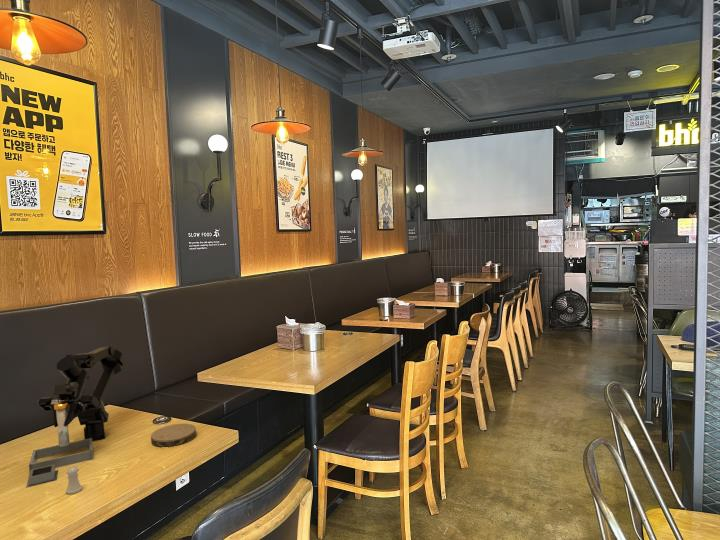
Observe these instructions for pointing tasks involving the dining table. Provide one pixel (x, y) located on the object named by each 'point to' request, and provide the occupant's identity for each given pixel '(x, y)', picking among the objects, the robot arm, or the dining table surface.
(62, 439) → the stop pin
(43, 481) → the bracket
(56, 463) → the pin tray
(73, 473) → the rook chess piece
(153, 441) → the wooden coaster disc
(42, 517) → the dining table surface
